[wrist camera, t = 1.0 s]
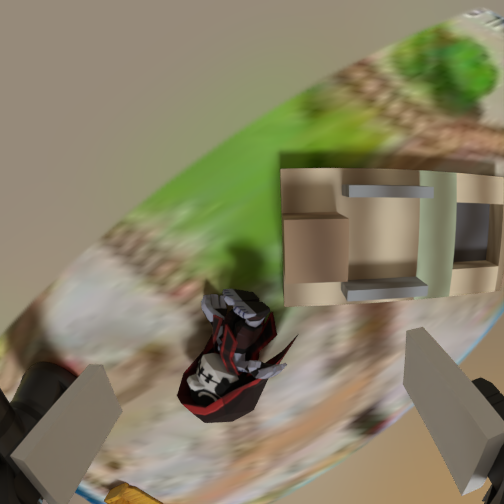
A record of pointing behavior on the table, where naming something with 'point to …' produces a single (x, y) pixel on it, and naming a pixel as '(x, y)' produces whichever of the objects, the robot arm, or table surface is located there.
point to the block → (315, 247)
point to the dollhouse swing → (129, 496)
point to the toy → (231, 359)
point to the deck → (403, 232)
